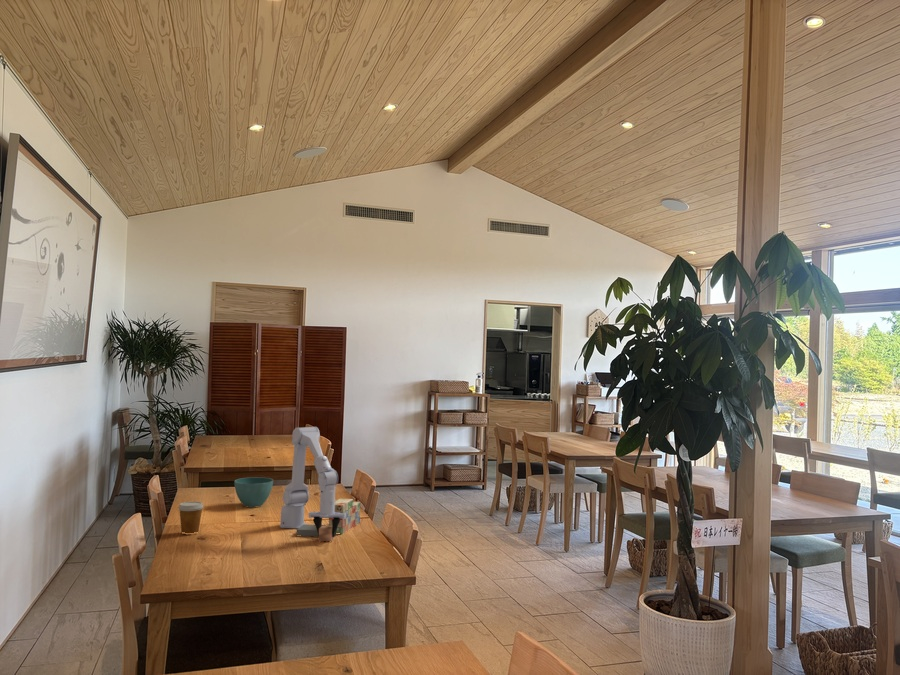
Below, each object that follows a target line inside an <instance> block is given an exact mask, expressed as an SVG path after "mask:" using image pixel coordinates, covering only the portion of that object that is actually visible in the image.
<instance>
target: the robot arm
mask: <svg viewBox="0 0 900 675" xmlns="http://www.w3.org/2000/svg"><path fill="white" fill-rule="evenodd" d="M320 432H321V431H320V430H319V428H318V427H317V426H309V427H304V426H303V427H295V428H294V429H293V431H292V436H291V437H292V438H291V439H292V440H291V444H292V445H293V446H294V447H293V459H292V461H293V462H292V472H291V474H292V475H291V482H290V483H288V484H287V485H285V487H284V491H283V494H282V501H283V503H284V504H283V505H282V506H281V511H280V526H279V528H281V529H284V528H285V529H298V528H300V527H301V526H302V525H303V524H307V525H308V523H307V522H305V506H306V505H307V503H308V502H309V500H310V493H309V486H308V485H307V484H305V483H304V482H305V481H304V480H305V469H306V457H307V456H306V455H307V454H306V453H307V447H308V449H309V451H310V452H311V454H312V456H313V457H314V460H313V465H314V468H315V470H316V472H317V475H318V478H317V481H318V490H319V491H320V497H319V498H320V499H319V500H320V502H319V503H320V504H319V505H320V506H319V511H309V512H308V518H309V519H312V518H313V519H312V522H313V523H314V524H313V525H315V526H316V529H317V532H318V537H317V538H319V528H320V527H321V525H323V523H322V522H323V519H329V518H334V519H333V520H332V537H334V538H335V537H336V535H337V534H336V530H337V527H338V524H339V522H340V520H341V519H345V518H346V513H339V512H335V501H336V485H338V483H339V474H338V472H337V470H335V469H334V468H332V466H331V463H330V461H329V459H328V456H325V455H324V453H323V450H322V447H321V444H320V437H321V434H320Z"/></svg>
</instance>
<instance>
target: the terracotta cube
mask: <svg viewBox="0 0 900 675" xmlns="http://www.w3.org/2000/svg"><path fill="white" fill-rule="evenodd" d="M333 539H334V540H335V537H332V526H329V525H325V526H321V527H320V528H319V537H318V542H319V541H332V540H333ZM334 540H333V541H334ZM333 541H332V542H333Z"/></svg>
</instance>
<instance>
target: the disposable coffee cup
mask: <svg viewBox="0 0 900 675" xmlns="http://www.w3.org/2000/svg"><path fill="white" fill-rule="evenodd" d="M203 508H204V505H203V502H202V501H185V502H181V503H179V505H178V510H179V519H180V520H179V521H180V529H181V533H182V532H185V533H194V532H198V533H199V530H200V525H201V518H202V513H203V512H202V511H203Z"/></svg>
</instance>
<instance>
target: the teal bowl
mask: <svg viewBox="0 0 900 675" xmlns="http://www.w3.org/2000/svg"><path fill="white" fill-rule="evenodd" d="M233 483H234V489H235V493H236V495H237V498H238V500H239V501H240V503H241V504H242V506H243V507H245V506H248V507H247V508H256V507H255V506H259V507H262V506H261V505H264V504H265V502H267V499H268V498H269V497H270V494H271V492H272V488H273V485H274V479H273V478H270V477H257V476H255V477H242V478H238V479H235V480H234V482H233Z"/></svg>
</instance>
